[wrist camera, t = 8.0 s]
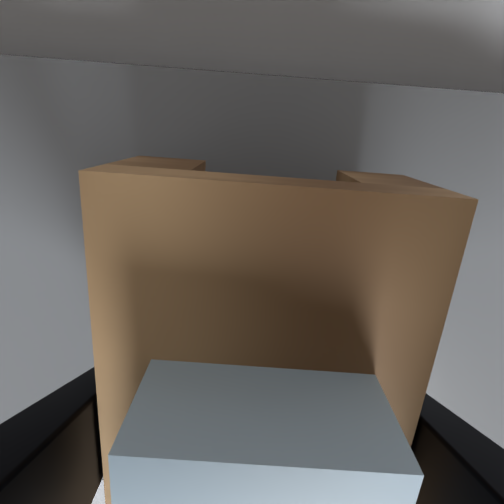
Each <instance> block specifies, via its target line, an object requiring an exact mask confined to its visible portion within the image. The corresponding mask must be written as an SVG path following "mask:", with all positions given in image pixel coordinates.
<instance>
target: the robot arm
mask: <svg viewBox="0 0 504 504" xmlns="http://www.w3.org/2000/svg"><path fill="white" fill-rule="evenodd" d="M411 449H412V451H413V453H414V456H415V458H416V460H417V462H418V464H419V466H420V468H421V470H422V472H423V474H424V478H423V481H422V484H421V488H420V491H419V494H418V498H417V501H416V504H504V449H503V448H502V447H501V446H499V445H498V444H496V443H495V442H494V441H492V440H491V439H489V438H488V437H487V436H485V435H484V434H482V433H481V432H480V431H478V430H477V429H475V428H474V427H473V426H471V425H470V424H468V423H467V422H466V421H464V420H463V419H462V418H460V417H459V416H457V415H456V414H455V413H453V412H452V411H450V410H449V409H448V408H446V407H445V406H443V405H442V404H441V403H439V402H438V401H436V400H435V399H434V398H432V397H431V396H429V395H428V394H427V393H426V394H425V398H424V401H423V405H422V409H421V412H420V416H419V420H418V423H417V427H416V431H415V434H414V438H413V442H412V445H411ZM102 478H103V466H102V454H101V442H100V429H99V417H98V405H97V393H96V380H95V368H94V367H93V368H91V369H90V370H88V371H86V372H85V373H83V374H81V375H80V376H78V377H76V378H75V379H73V380H71V381H70V382H68V383H67V384H65V385H63V386H62V387H60V388H58V389H57V390H55V391H53V392H52V393H50V394H48V395H47V396H45V397H44V398H42V399H40V400H39V401H37V402H35V403H34V404H32V405H30V406H29V407H27V408H26V409H24V410H22V411H21V412H19V413H17V414H16V415H14V416H12V417H11V418H9V419H7V420H6V421H4V422H3V423H1V424H0V504H91V503H92V500H93V498H94V496H95V494H96V491H97V489H98V487H99V485H100V482H101V480H102Z"/></svg>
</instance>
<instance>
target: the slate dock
mask: <svg viewBox="0 0 504 504" xmlns="http://www.w3.org/2000/svg"><path fill="white" fill-rule="evenodd" d="M136 156H152V157H165V158H179V159H193V160H206V167H205V171H207V172H221V173H235V174H249V175H262V176H276V177H290V178H303V179H317V180H331V181H336V176H337V170H343V171H357V172H370V173H384V174H398V175H405V176H408V177H411V178H414V179H417V180H420V181H423V182H426V183H429V184H432V185H436V186H439V187H442V188H445V189H448V190H451V191H454V192H457V193H460V194H463V195H466V196H469V197H473V198H476V199H479V200H478V204H477V207H476V211H475V215H474V218H473V222H472V226H471V229H470V233H469V237H468V240H467V244H466V248H465V251H464V255H463V259H462V262H461V266H460V270H459V273H458V277H457V281H456V284H455V288H454V292H453V295H452V299H451V303H450V306H449V310H448V314H447V317H446V321H445V324H444V328H443V332H442V335H441V339H440V343H439V346H438V350H437V354H436V357H435V361H434V365H433V368H432V372H431V376H430V379H429V383H428V387H427V390H426V393H427V394H428V395H429V396H431V397H432V398H434V399H435V400H436V401H438V402H439V403H441V404H442V405H443V406H445V407H446V408H448V409H449V410H450V411H452V412H453V413H455V414H456V415H457V416H459V417H460V418H462V419H463V420H464V421H466V422H467V423H468V424H470V425H471V426H473V427H474V428H475V429H477V430H478V431H480V432H481V433H482V434H484V435H485V436H487V437H488V438H489V439H491V440H492V441H494V442H495V443H496V444H498V445H499V446H501V447H502V448H503V449H504V93H496V92H483V91H471V90H458V89H445V88H432V87H419V86H406V85H393V84H380V83H367V82H354V81H341V80H328V79H315V78H302V77H289V76H276V75H263V74H250V73H237V72H224V71H211V70H198V69H185V68H172V67H159V66H147V65H134V64H121V63H108V62H95V61H82V60H69V59H56V58H43V57H30V56H17V55H4V54H0V424H1V423H3V422H4V421H6V420H7V419H9V418H11V417H12V416H14V415H16V414H17V413H19V412H21V411H22V410H24V409H26V408H27V407H29V406H30V405H32V404H34V403H35V402H37V401H39V400H40V399H42V398H44V397H45V396H47V395H48V394H50V393H52V392H53V391H55V390H57V389H58V388H60V387H62V386H63V385H65V384H67V383H68V382H70V381H71V380H73V379H75V378H76V377H78V376H80V375H81V374H83V373H85V372H86V371H88V370H90V369H91V368H93V367H94V356H93V344H92V331H91V319H90V307H89V295H88V282H87V270H86V258H85V246H84V233H83V221H82V209H81V197H80V184H79V172H78V170H82V169H86V168H90V167H95V166H99V165H103V164H107V163H111V162H115V161H119V160H123V159H127V158H131V157H136ZM102 480H104V478H102Z"/></svg>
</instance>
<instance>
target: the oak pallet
mask: <svg viewBox="0 0 504 504" xmlns="http://www.w3.org/2000/svg"><path fill="white" fill-rule="evenodd" d="M205 167H206V160H193V159H179V158H165V157H152V156H136V157H131V158H127V159H123V160H119V161H115V162H111V163H107V164H103V165H99V166H95V167H90V168H86V169H82V170H78V172H79V184H80V197H81V209H82V221H83V233H84V246H85V258H86V270H87V282H88V295H89V307H90V319H91V331H92V344H93V356H94V368H95V380H96V393H97V405H98V417H99V429H100V442H101V454H102V466H103V478H104V491H105V503H106V504H111V491H110V477H109V462H108V454H109V452H110V450H111V447H112V445H113V443H114V441H115V439H116V436H117V434H118V432H119V430H120V427H121V425H122V423H123V421H124V419H125V416H126V414H127V412H128V410H129V407H130V405H131V403H132V401H133V399H134V396H135V394H136V392H137V390H138V387H139V385H140V383H141V381H142V379H143V376H144V374H145V372H146V370H147V367H148V365H149V363H150V361H151V359H154V360H168V361H183V362H198V363H212V364H227V365H242V366H256V367H271V368H285V369H300V370H315V371H329V372H344V373H359V374H373V375H376V377H377V379H378V381H379V383H380V385H381V387H382V389H383V391H384V394H385V396H386V398H387V400H388V402H389V404H390V406H391V408H392V410H393V412H394V414H395V416H396V418H397V420H398V422H399V425H400V427H401V429H402V431H403V433H404V435H405V437H406V439H407V441H408V443H409V445H410V447H411V445H412V442H413V438H414V434H415V431H416V427H417V423H418V420H419V416H420V412H421V409H422V405H423V401H424V398H425V394H426V390H427V387H428V383H429V379H430V376H431V372H432V368H433V365H434V361H435V357H436V354H437V350H438V346H439V343H440V339H441V335H442V332H443V328H444V324H445V321H446V317H447V314H448V310H449V306H450V303H451V299H452V295H453V292H454V288H455V284H456V281H457V277H458V273H459V270H460V266H461V262H462V259H463V255H464V251H465V248H466V244H467V240H468V237H469V233H470V229H471V226H472V222H473V218H474V215H475V211H476V207H477V204H478V200H479V199H476V198H473V197H469V196H466V195H463V194H460V193H457V192H454V191H451V190H448V189H445V188H442V187H439V186H436V185H432V184H429V183H426V182H423V181H420V180H417V179H414V178H411V177H408V176H405V175H398V174H384V173H370V172H357V171H343V170H337V176H336V181H331V180H317V179H303V178H290V177H276V176H262V175H249V174H235V173H221V172H207V171H205Z"/></svg>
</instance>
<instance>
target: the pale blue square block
mask: <svg viewBox="0 0 504 504" xmlns="http://www.w3.org/2000/svg"><path fill="white" fill-rule="evenodd" d="M108 462H109V477H110V491H111V504H416V501H417V498H418V494H419V491H420V488H421V484H422V481H423V478H424V474H423V472H422V470H421V468H420V466H419V464H418V462H417V460H416V458H415V456H414V453H413V451H412V449H411V447H410V445H409V443H408V441H407V439H406V437H405V435H404V433H403V431H402V429H401V427H400V425H399V422H398V420H397V418H396V416H395V414H394V412H393V410H392V408H391V406H390V404H389V402H388V400H387V398H386V396H385V394H384V391H383V389H382V387H381V385H380V383H379V381H378V379H377V377H376V375H373V374H359V373H344V372H329V371H315V370H300V369H285V368H271V367H256V366H242V365H227V364H212V363H198V362H183V361H168V360H154V359H151V361H150V363H149V365H148V367H147V370H146V372H145V374H144V376H143V379H142V381H141V383H140V385H139V387H138V390H137V392H136V394H135V396H134V399H133V401H132V403H131V405H130V407H129V410H128V412H127V414H126V416H125V419H124V421H123V423H122V425H121V427H120V430H119V432H118V434H117V436H116V439H115V441H114V443H113V445H112V447H111V450H110V452H109V454H108Z"/></svg>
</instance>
